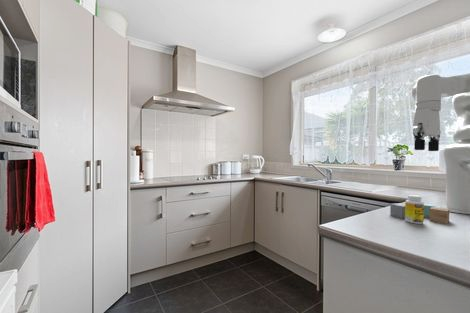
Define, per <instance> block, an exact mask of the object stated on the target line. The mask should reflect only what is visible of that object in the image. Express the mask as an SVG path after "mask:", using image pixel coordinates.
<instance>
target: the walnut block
mask: <svg viewBox="0 0 470 313" xmlns="http://www.w3.org/2000/svg"><path fill="white" fill-rule="evenodd" d="M429 221H430V222H433V223H440V224H444V225H448V224H449V222H450V211H449V209H445V208H441V207H439V206H436V207H431V208H430V218H429Z"/></svg>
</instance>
